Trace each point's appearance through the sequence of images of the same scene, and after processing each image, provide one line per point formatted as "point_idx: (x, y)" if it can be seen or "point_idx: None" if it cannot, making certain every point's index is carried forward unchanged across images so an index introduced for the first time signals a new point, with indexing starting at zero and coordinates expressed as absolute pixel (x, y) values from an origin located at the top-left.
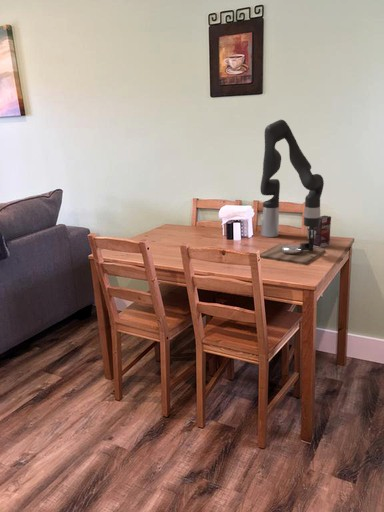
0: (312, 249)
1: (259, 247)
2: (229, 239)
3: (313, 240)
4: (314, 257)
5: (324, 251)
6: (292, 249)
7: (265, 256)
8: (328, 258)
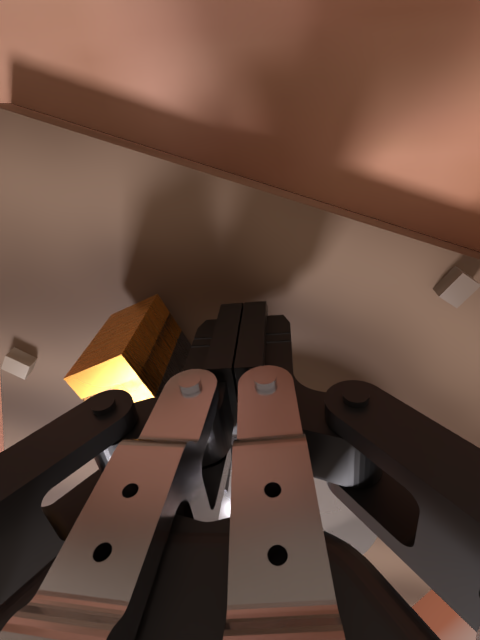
0: (267, 314)
1: None
2: None
3: (465, 452)
4: (438, 244)
5: (34, 113)
6: (348, 518)
7: (411, 602)
8: (379, 5)
